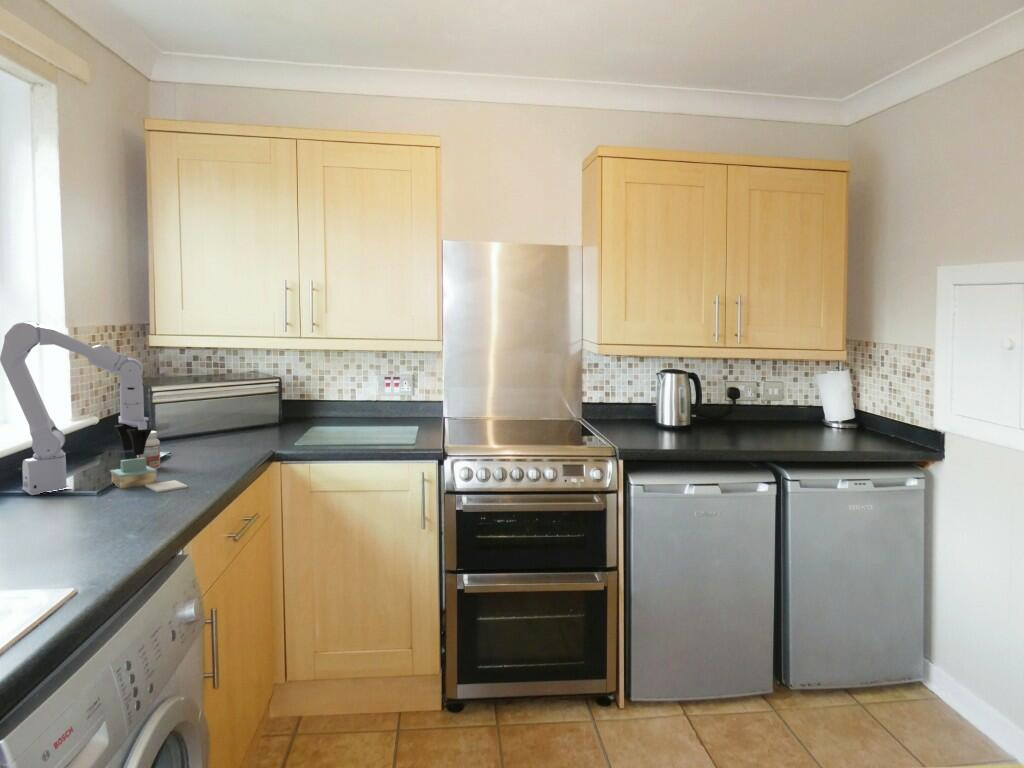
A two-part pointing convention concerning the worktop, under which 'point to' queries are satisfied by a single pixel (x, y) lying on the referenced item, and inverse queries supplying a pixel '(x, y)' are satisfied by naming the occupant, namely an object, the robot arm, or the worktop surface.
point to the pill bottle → (152, 451)
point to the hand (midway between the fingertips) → (133, 452)
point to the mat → (166, 486)
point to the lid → (133, 468)
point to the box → (133, 480)
